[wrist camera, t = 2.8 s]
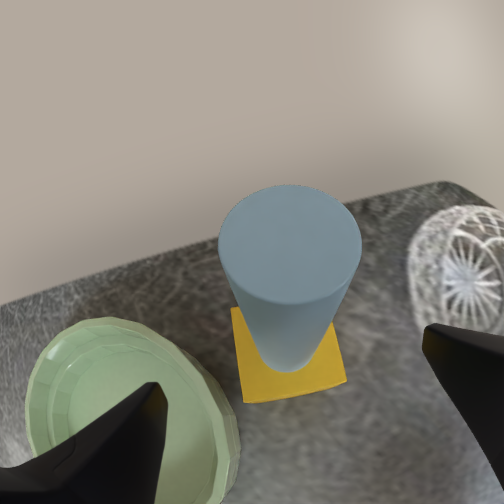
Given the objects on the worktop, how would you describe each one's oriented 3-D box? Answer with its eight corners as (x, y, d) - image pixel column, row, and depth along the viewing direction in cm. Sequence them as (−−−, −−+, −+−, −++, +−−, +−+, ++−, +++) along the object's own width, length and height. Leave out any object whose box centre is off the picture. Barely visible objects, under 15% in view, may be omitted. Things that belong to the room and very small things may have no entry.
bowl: (224, 545, 9) (208, 573, 6) (55, 471, 12) (19, 471, 8) (257, 357, 17) (250, 341, 13) (84, 320, 20) (51, 299, 16)
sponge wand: (330, 388, 15) (450, 323, 4) (254, 403, 16) (166, 389, 4) (314, 319, 18) (357, 145, 6) (243, 333, 18) (169, 176, 7)
